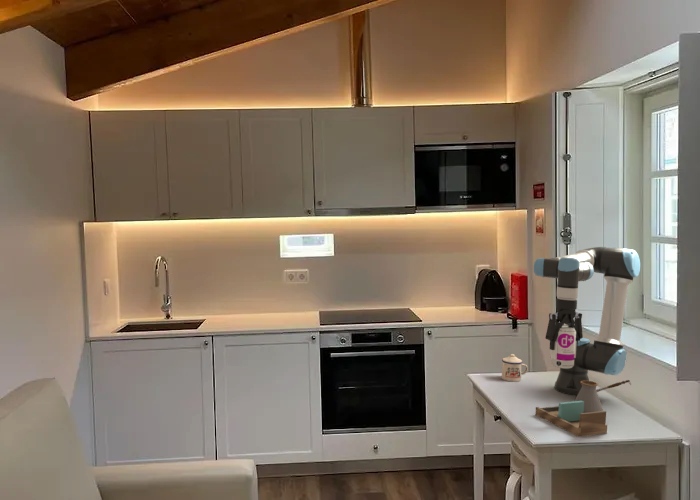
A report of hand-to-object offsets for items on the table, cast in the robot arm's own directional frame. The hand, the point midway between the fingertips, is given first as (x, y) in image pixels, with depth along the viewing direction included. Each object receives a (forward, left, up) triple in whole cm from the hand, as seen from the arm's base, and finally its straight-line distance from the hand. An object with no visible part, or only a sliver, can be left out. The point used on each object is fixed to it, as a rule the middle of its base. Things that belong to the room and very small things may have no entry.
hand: (562, 357), depth 246 cm
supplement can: (0, 0, -3) cm, 3 cm away
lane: (0, +6, -24) cm, 24 cm away
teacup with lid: (-16, -51, -24) cm, 59 cm away
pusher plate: (0, +6, -22) cm, 23 cm away
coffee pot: (-18, +2, -24) cm, 30 cm away
